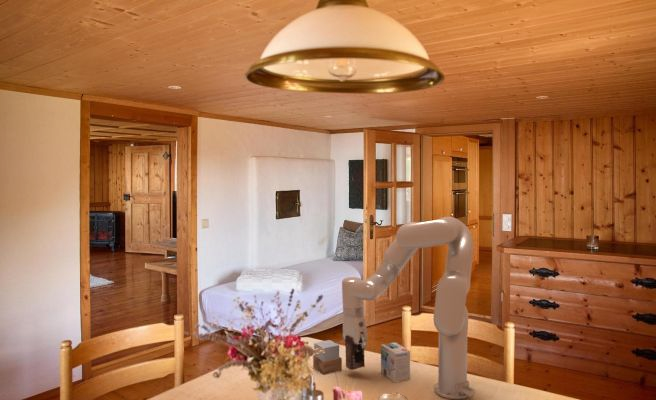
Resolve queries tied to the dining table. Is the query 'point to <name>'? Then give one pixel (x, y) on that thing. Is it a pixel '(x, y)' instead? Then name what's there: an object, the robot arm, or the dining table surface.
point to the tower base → (327, 365)
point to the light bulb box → (395, 362)
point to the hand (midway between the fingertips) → (355, 359)
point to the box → (352, 354)
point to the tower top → (327, 350)
